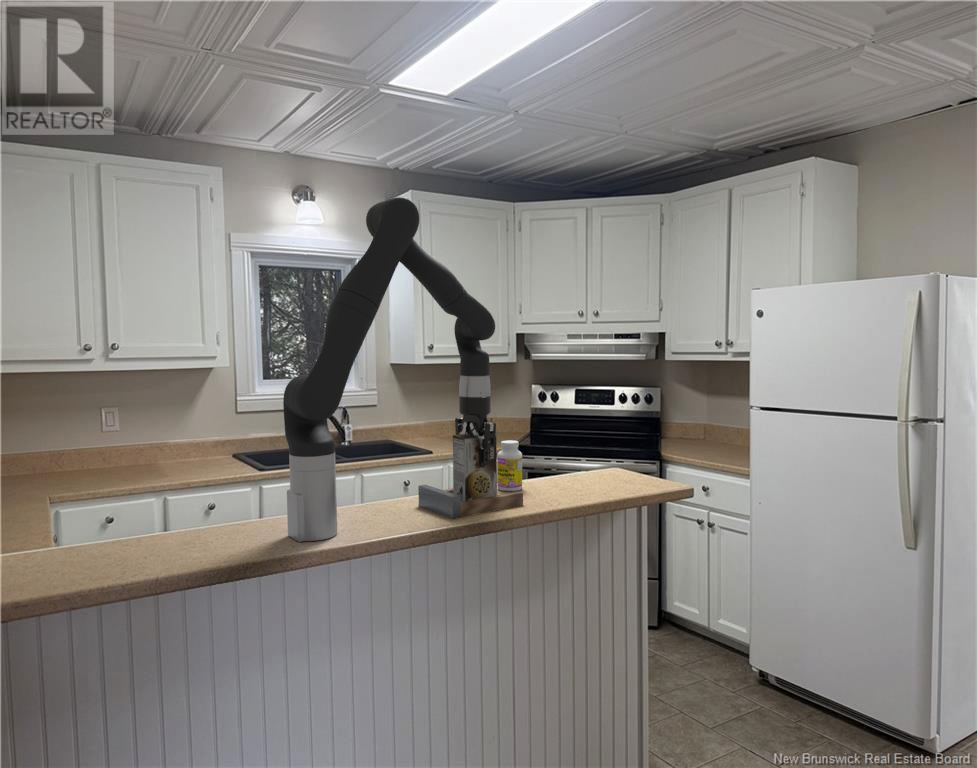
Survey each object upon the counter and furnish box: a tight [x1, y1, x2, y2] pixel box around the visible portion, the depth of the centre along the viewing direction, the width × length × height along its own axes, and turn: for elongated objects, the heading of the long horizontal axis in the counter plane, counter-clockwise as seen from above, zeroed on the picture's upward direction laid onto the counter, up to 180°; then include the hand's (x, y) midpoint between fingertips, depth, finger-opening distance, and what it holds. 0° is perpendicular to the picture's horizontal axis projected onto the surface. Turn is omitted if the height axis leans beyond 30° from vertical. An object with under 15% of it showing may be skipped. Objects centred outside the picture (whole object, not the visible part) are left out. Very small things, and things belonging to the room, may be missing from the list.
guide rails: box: [443, 487, 524, 518], centre depth 166 cm, size 18×15×3 cm
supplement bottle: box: [497, 439, 523, 492], centre depth 183 cm, size 7×7×13 cm
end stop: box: [417, 484, 462, 520], centre depth 160 cm, size 2×15×5 cm, turn 37°
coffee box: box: [452, 433, 498, 502], centre depth 166 cm, size 9×6×16 cm
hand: (474, 462), depth 166 cm, fingers closed on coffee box, 6 cm apart
